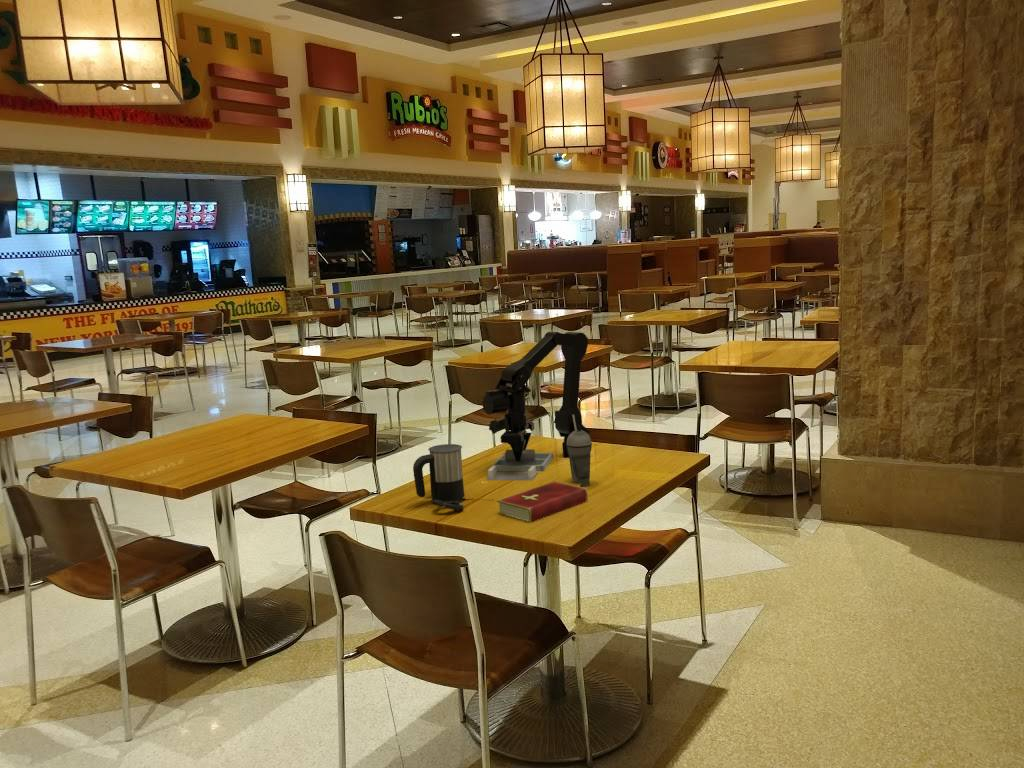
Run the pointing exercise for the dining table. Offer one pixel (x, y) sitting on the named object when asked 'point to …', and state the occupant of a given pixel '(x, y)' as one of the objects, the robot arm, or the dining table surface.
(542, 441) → the dining table surface
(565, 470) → the dining table surface
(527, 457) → the battery cell
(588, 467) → the beverage cup
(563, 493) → the hardcover book
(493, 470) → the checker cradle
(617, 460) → the dining table surface
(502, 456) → the cell tray
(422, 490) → the milk frother
